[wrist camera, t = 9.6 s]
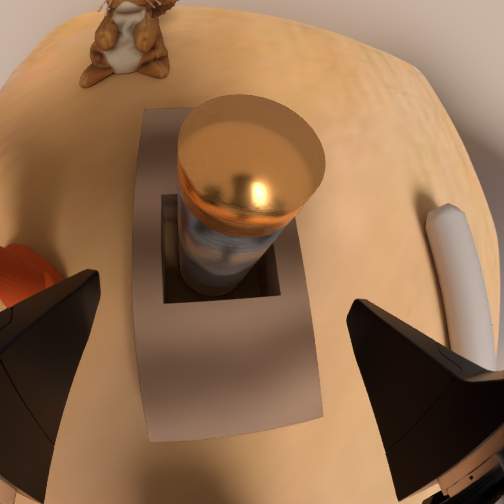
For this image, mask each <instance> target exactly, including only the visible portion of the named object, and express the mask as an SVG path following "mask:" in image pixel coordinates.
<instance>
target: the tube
mask: <svg viewBox="0 0 504 504" xmlns="http://www.w3.org/2000/svg"><path fill="white" fill-rule="evenodd" d="M425 231H426V234H427V238H428V241H429V245H430V248H431V252H432V256H433V259H434V263H435V267H436V272H437V276H438V280H439V285H440V289H441V294H442V299H443V304H444V310H445V316H446V322H447V328H448V335H449V343H450V350H452V351H453V352H455V353H457V354H459V355H460V356H462V357H464V358H466V359H468V360H470V361H472V362H473V363H475V364H477V365H479V366H481V367H483V368H485V369H487V370H490V371H496V358H495V346H494V336H493V328H492V321H491V314H490V308H489V302H488V297H487V292H486V287H485V282H484V278H483V273H482V269H481V265H480V261H479V258H478V254H477V250H476V247H475V243H474V240H473V237H472V233H471V230H470V227H469V224H468V221H467V218H466V216H465V213H464V212H462V211H461V210H460V209H459V208H457V207H456V206H453V205H451V204H449V203H447V204H445V205H442V206H440V207H438V208H436V209H434V210H432V211H429V212H428V214H427V220H426V225H425Z"/></svg>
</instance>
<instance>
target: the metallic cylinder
mask: <svg viewBox="0 0 504 504" xmlns="http://www.w3.org/2000/svg"><path fill="white" fill-rule="evenodd" d="M324 172H325V155H324V151H323V147H322V145H321V142H320V140H319V138H318V137H317V135H316V133H315V132H314V130H313V129H312V128H311V127H310V126H309V124H308V123H307V122H306V121H305V120H304V119H303V118H302V117H300V116H299V115H298V114H296V113H295V112H294V111H292V110H291V109H289V108H287V107H286V106H284V105H282V104H280V103H277V102H275V101H272V100H269V99H266V98H263V97H258V96H252V95H228V96H222V97H218V98H214V99H212V100H209V101H207V102H205V103H203V104H201V105H200V106H198V107H197V108H196V109H194V110H193V111H192V112H191V113H190V114H189V115H188V117H187V118H186V119H185V121H184V122H183V124H182V126H181V129H180V132H179V137H178V167H177V192H178V236H179V259H180V270H181V274H182V276H183V278H184V280H185V282H186V283H187V284H188V285H189V286H190V287H191V288H192V289H193V290H194V291H196V292H198V293H200V294H203V295H207V296H219V295H223V294H226V293H228V292H230V291H231V290H233V289H234V288H235V287H236V286H237V285H238V284H239V283H240V281H241V280H242V279H243V278H244V277H245V275H246V274H247V273H248V272H249V271H250V269H251V268H252V267H253V266H254V265H255V263H256V262H257V261H258V260H259V259H260V257H261V256H262V255H263V254H264V253H265V251H266V250H267V249H268V248H269V247H270V245H271V244H272V243H273V242H274V241H275V239H276V238H277V237H278V236H279V235H280V233H281V232H282V231H283V230H284V229H285V227H286V226H287V225H288V224H289V222H290V221H291V220H292V219H293V218H294V216H295V215H296V214H297V213H298V212H299V210H300V209H301V208H302V207H303V206H304V204H305V203H306V202H307V201H308V199H309V198H310V197H311V196H312V195H313V193H314V192H315V191H316V190H317V188H318V187H319V185H320V183H321V181H322V179H323V176H324Z"/></svg>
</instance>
